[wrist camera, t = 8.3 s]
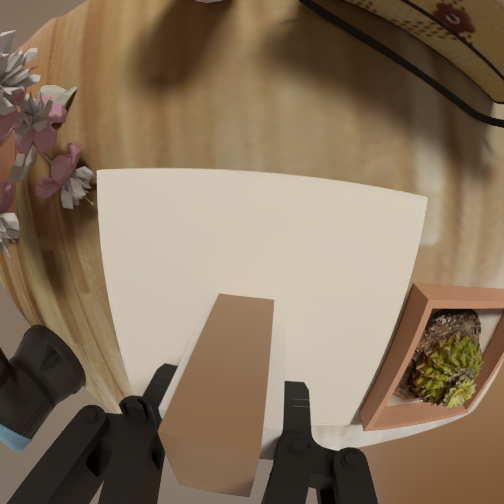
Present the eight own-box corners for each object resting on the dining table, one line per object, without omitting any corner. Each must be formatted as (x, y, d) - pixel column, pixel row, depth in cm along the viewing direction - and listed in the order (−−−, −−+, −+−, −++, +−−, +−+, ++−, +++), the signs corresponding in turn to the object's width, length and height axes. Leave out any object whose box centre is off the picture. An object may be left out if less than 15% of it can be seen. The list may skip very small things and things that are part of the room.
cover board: (136, 391, 20) (90, 476, 11) (102, 169, 14) (-39, 202, 5) (347, 419, 18) (359, 518, 9) (422, 195, 12) (560, 257, 3)
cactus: (424, 294, 28) (462, 341, 18) (493, 311, 27) (527, 346, 18) (367, 393, 34) (380, 444, 24) (440, 394, 33) (458, 434, 24)
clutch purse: (274, 12, 19) (264, -84, 5) (295, -25, 17) (299, -113, 3) (497, 143, 20) (585, 154, 6) (505, 101, 18) (585, 97, 4)
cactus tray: (359, 412, 35) (363, 431, 31) (413, 283, 27) (428, 299, 23) (459, 398, 33) (466, 412, 29) (515, 289, 25) (530, 301, 22)
